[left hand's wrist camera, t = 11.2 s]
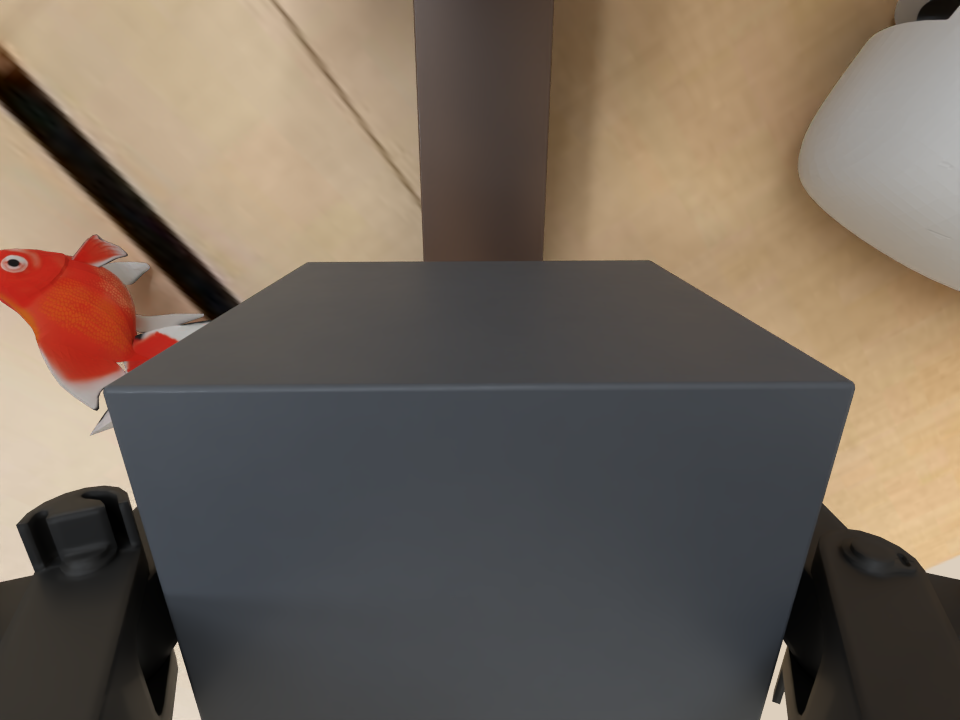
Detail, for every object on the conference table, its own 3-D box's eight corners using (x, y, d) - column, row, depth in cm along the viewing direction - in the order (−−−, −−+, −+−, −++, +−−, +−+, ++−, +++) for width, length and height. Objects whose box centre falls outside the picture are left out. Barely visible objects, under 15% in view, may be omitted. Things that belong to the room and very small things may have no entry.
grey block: (341, 539, 15) (234, 839, 8) (305, 261, 12) (98, 386, 5) (619, 537, 15) (729, 835, 8) (651, 259, 12) (860, 382, 5)
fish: (119, 139, 25) (-19, 285, 19) (334, 332, 36) (289, 465, 30) (11, 216, 30) (-127, 353, 24) (230, 366, 40) (173, 487, 34)
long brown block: (436, 325, 33) (427, 358, 28) (416, -269, 23) (396, -405, 18) (528, 325, 33) (538, 358, 28) (549, -269, 23) (571, -404, 18)
